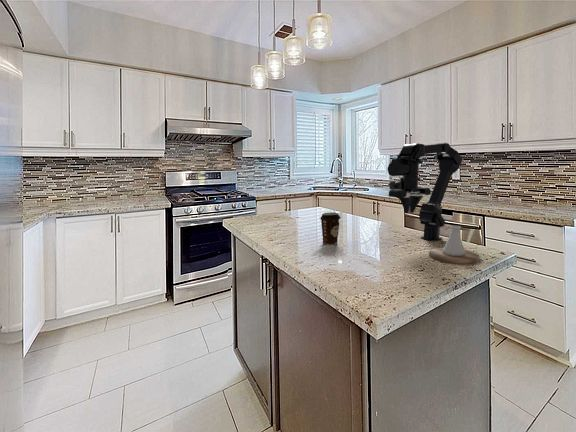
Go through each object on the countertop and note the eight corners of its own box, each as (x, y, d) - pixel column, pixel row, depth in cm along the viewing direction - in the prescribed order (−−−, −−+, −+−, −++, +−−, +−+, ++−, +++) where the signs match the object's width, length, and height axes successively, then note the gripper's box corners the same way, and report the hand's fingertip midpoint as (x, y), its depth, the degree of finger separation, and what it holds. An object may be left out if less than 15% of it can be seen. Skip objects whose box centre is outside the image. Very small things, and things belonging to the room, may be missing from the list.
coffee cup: (342, 241, 138) (342, 212, 136) (338, 246, 131) (339, 215, 128) (322, 240, 141) (322, 211, 139) (318, 244, 133) (318, 214, 131)
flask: (470, 255, 110) (472, 227, 108) (452, 257, 108) (454, 229, 106) (454, 250, 117) (456, 224, 115) (437, 252, 115) (439, 225, 113)
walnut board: (447, 248, 123) (447, 245, 123) (489, 259, 109) (489, 255, 109) (419, 255, 116) (419, 251, 116) (460, 267, 102) (460, 263, 102)
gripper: (410, 174, 139) (409, 208, 142) (379, 175, 131) (378, 212, 133) (432, 174, 130) (430, 211, 132) (400, 176, 121) (398, 216, 124)
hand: (409, 213), depth 131 cm, fingers open, 3 cm apart
